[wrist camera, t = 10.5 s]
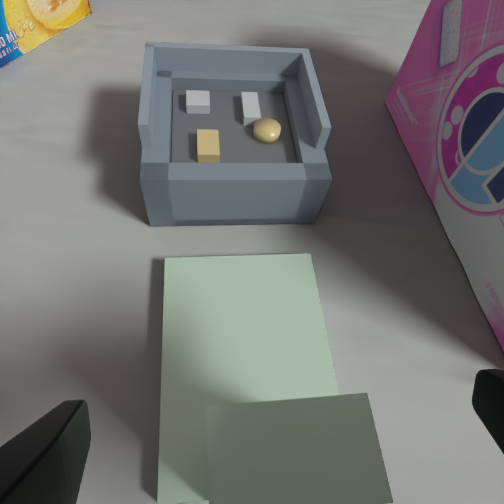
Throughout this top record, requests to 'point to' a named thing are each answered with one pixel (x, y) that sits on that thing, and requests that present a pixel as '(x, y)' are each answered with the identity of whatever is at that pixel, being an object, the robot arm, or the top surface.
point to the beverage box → (35, 23)
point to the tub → (231, 135)
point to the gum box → (460, 134)
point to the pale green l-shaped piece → (257, 391)
